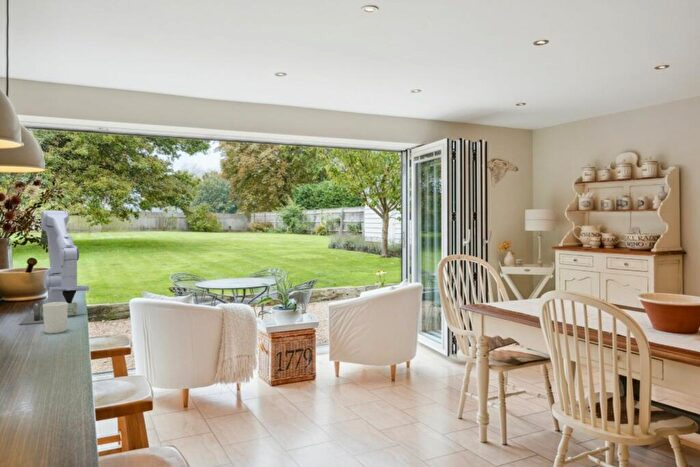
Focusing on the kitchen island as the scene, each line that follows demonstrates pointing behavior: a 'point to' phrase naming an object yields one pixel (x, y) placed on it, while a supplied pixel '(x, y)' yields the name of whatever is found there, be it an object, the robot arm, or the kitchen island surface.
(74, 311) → the pale green slotted bar
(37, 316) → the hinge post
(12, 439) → the kitchen island surface
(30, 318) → the mat
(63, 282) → the robot arm
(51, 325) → the white cup
